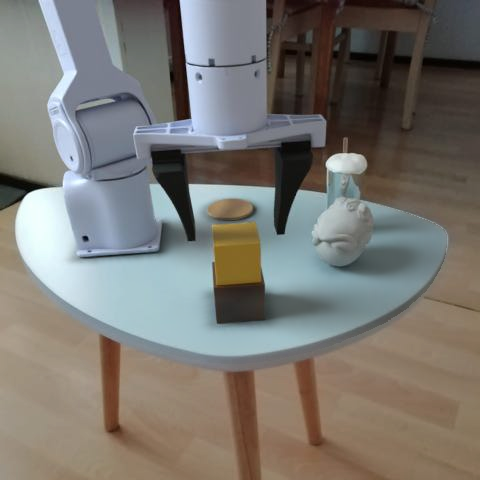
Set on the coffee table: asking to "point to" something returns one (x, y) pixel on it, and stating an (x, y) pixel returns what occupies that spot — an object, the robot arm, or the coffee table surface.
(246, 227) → the top cube
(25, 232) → the coffee table surface
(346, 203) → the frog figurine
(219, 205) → the cork coaster
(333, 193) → the milkshake
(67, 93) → the robot arm
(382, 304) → the coffee table surface
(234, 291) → the walnut block
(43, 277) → the coffee table surface
